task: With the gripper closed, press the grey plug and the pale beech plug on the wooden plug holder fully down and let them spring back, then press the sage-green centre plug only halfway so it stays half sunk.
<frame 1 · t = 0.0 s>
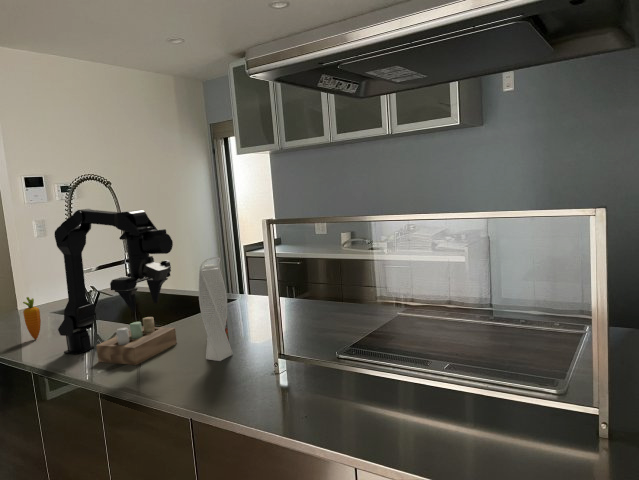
hand: (145, 307, 146), 15 cm above the worktop, tool pointing down, fingers open, 9 cm apart
plug green: (136, 333, 151), point 6 cm above the worktop, slide at 0.0 cm
wooden plug holder: (139, 352, 152), on the worktop
carrot: (35, 339, 176), on the worktop
supplement bottle: (219, 345, 153), on the worktop
skyscraper: (220, 357, 143), on the worktop
plug beech: (149, 327, 156), point 6 cm above the worktop, slide at 0.1 cm
plug grey: (123, 339, 146), point 6 cm above the worktop, slide at 0.1 cm
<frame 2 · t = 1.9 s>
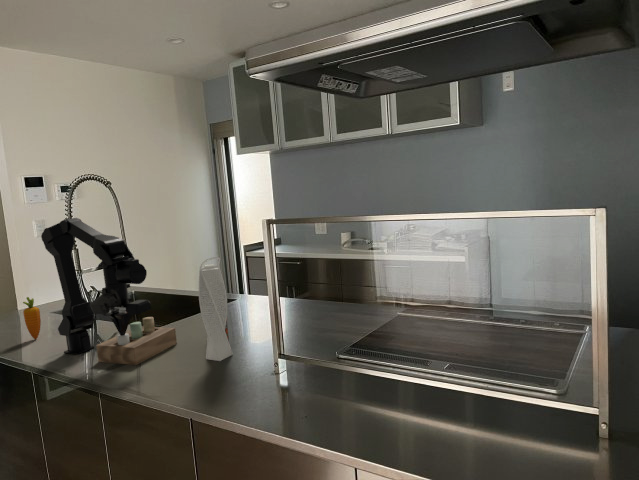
hand: (122, 335, 146), 7 cm above the worktop, tool pointing down, fingers closed, pressing on plug grey
plug grey: (124, 345, 147), point 4 cm above the worktop, slide at 1.8 cm, touching gripper
everything else where it was.
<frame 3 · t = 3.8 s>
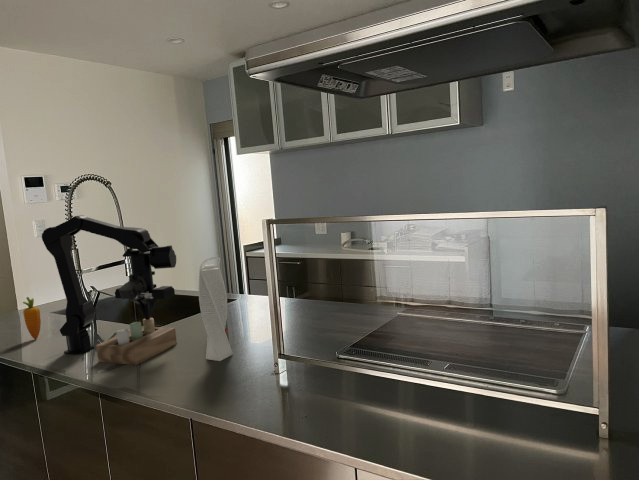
hand: (147, 319, 156), 9 cm above the worktop, tool pointing down, fingers closed, pressing on plug beech
plug beech: (149, 328, 157), point 6 cm above the worktop, slide at 0.4 cm, touching gripper
plug grey: (123, 340, 146), point 6 cm above the worktop, slide at 0.4 cm
everything else where it was.
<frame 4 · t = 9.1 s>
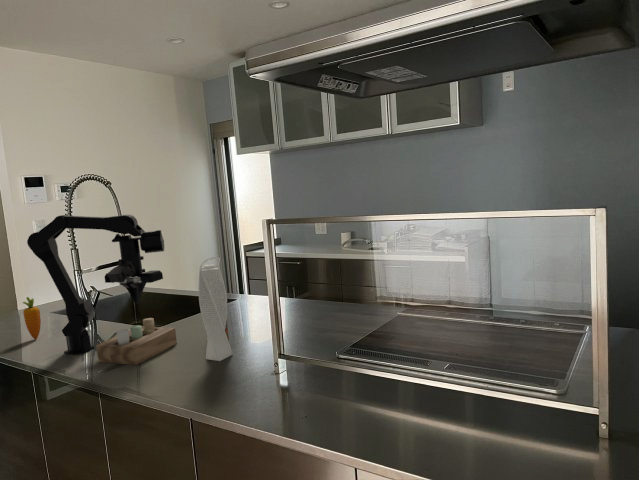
hand: (136, 303, 160), 13 cm above the worktop, tool pointing down, fingers closed
plug green: (137, 336, 152), point 5 cm above the worktop, slide at 1.1 cm
plug beech: (149, 328, 157), point 6 cm above the worktop, slide at 0.4 cm
everything else where it was.
at the end: plug green slide at 1.1 cm; plug grey slide at 0.4 cm; plug beech slide at 0.4 cm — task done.
